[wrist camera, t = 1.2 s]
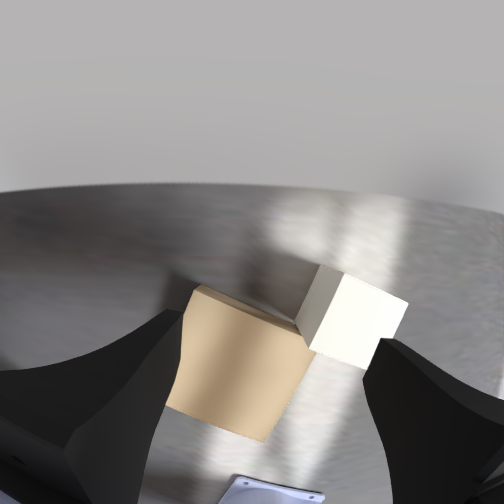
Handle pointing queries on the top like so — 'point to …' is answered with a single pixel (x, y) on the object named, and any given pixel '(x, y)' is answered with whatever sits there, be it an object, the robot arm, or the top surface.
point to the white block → (347, 317)
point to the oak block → (237, 365)
